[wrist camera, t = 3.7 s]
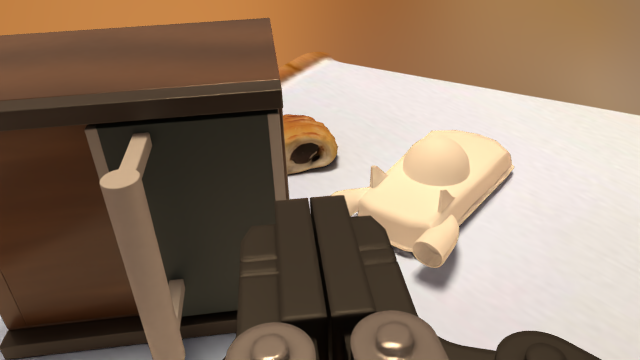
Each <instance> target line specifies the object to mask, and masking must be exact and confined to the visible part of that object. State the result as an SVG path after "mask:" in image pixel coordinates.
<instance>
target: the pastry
mask: <svg viewBox="0 0 640 360" xmlns="http://www.w3.org/2000/svg"><path fill="white" fill-rule="evenodd" d="M283 125H284V138H285V151H286V164H287V174H293V173H299V172H302V171H306V170H308V169H311V168H318V167H323V166H326V165H328V164H330V163H331V162H332V161H333V160H334V158H335V157H336V155H337V148H338V146H337V144H336V142H335V138H334V136H333V135H332V134H331V133H330V131H329V130H328V128H327V127H325V126H324V124H323V123H320V122H316V121H315V120H314V119H313V118H311V117H309V116H305V115H289V114H288V115H284V116H283Z"/></svg>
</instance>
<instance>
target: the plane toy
mask: <svg viewBox="0 0 640 360" xmlns="http://www.w3.org/2000/svg"><path fill="white" fill-rule="evenodd" d="M513 168H514V166H513V165H512V160H511V155H510V153H509V152H508V151H507V150H506V149H505V148H503V147H502V146H501V145H500V144H499V143H498V142H497V141H495V140H493V139H490V138H487V137H484V136H482V135H479V134H474V133H468V132H463V131H457V130H449V131H431V132H430V133H429V134H428V135H427V136H425V137H424V138H423V139H421V140H419V141H418V142H416V143H415V144H413V146H412V147H411V148H410V149H409V150H408V152H407V153H406V154H405V155H404V156H403V157H402V158H401V159H400V160H399V161H398V162H397V163H396V164H395V165H394V166H393V167H392V168H390V169H389V170H388V171H387V172H386V173H384V172H383V171H382V170H381V169H380V168H378V167H377V166H371V177H370V187H367V188H359V189H350V190H343V191H337V192H335V193H333V194H332V195H331V196H334V195H344V196H345V200H346V203H347V207H348V210H349V214H350V217H351V216H352V215H353V214H354V213H356V212H358V216H369V215H370V216H372V217H373V218H374V219H375V220H376V221H377V222H378V223H379V224H381V225H382V226H383V227H384V228H385V229H386V232H387V235H388V237H389V240H390V243H391V245H392V246H394V247H397V248H399V249H402V250H404V251H410V252H413V254H414V256H415V257H416V258H417V259H418V260H419V261H420V262H421V263H422V264H424V265H426V266H428V267H431V268H438V267H440V266H441V265H442V264H443V263H444V261H445V260H446V259H447V257H448V256H449V255H450V253H451V252H452V250H453V248H454V247H455V245H456V243H457V240H458V237H459V226H460V225H461V224H462V223H463V222H464V221H465V219H466V218H467V217H468V216H469V215H470V214H471V213H472V212H473V211H474V210H475V209H476V208H477V207H478V206H479V205H480V204H481V203H482V202H483V201H484V200H485V199H486V198H487V197H488V196H489V195H490V194H491V193H492V192H493V191H494V190H495V189H496V188H497V187H498V186H499V185H500V184H501V183H502V182H503V181H504V180H505V179H506V177H507V176H508V175H509V174H510V172H511V171H512V170H513Z"/></svg>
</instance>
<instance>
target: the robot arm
mask: <svg viewBox="0 0 640 360" xmlns="http://www.w3.org/2000/svg"><path fill="white" fill-rule="evenodd" d="M274 203H275V222H276V224H270V225H259V226H251V227H250V229H249V230H248V232H247V233H246V235H245V236H244V238H243V239H242V241H241V247H240V269H239V276H240V277H239V291H238V313H237V333H236V339H235V340H234V341H233V342H232V344H231V345H230V347H229V349H228V351H227V354H226V357H225V358H224V359H223V360H601V359H599V358H597V357H596V356H594V355H592V354H590V353H588V352H586V351H584V350H582V349H581V348H579V347H577V346H575V345H573V344H571V343H569V342H568V341H566V340H564V339H562V338H559V337H557V336H554V335H551V334H548V333H544V332H538V331H522V332H517V333H514V334H511V335H509V336H507V337H506V338H504V339H503V340H502V341H501V342H500V344H499V345H498V347H497V350H496V351H493V350H486V349H480V348H474V347H467V346H462V345H458V344H454V343H451V342H449V341H446V340H444V339H442V338H440V337H438V336H437V335H436V333H435V331H434V330H433V329H432V327H431V326H430V325H429V324H428V323H426V322H425V321H424V320H422V319H421V318H419V317H418V315H417V313H416V310H415V307H414V305H413V302H412V299H411V297H410V294H409V291H408V289H407V286H406V283H405V280H404V278H403V275H402V272H401V270H400V267H399V264H398V262H397V261H396V256H395V254H394V251H393V248H391V243H390V240H389V237H388V235H387V232H386V229H385V228H384V227H383V226H382V225H381V224H379V223H378V222H377V221H376V220H375V219H374V218H373V217H372V216H370V215H369V216H358V217H350V214H349V210H348V207H347V203H346V200H345V196H344V195H334V196H323V197H311V198H310V208H309V202H308V198H301V199H290V200H278V201H274ZM310 209H311V214H310Z"/></svg>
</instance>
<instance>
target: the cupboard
mask: <svg viewBox="0 0 640 360" xmlns="http://www.w3.org/2000/svg"><path fill="white" fill-rule="evenodd" d="M282 108H283V99H282V88H281V83H280V77H279V71H278V65H277V59H276V53H275V47H274V41H273V35H272V29H271V24H270V19H269V18H261V19H247V20H231V21H215V22H201V23H185V24H170V25H155V26H140V27H125V28H109V29H93V30H78V31H63V32H49V33H34V34H17V35H2V36H0V315H1V317H2V319H3V321H4V323H5V325H6V327H7V328H8V330H9V331H7V333H6V335H5V337H4V339H3V341H2V343H1V345H0V350H1V352H2V354H3V356H4V358H5V360H8V359H16V358H25V357H33V356H42V355H50V354H58V353H67V352H75V351H83V350H92V349H100V348H108V347H117V346H125V345H134V344H142V343H148V341H147V338H146V335H145V332H144V328H143V325H142V322H141V318H140V315H139V312H138V309H137V305H136V302H135V299H134V295H133V292H132V289H131V286H130V282H129V279H128V276H127V272H126V269H125V266H124V263H123V259H122V256H121V253H120V249H119V246H118V243H117V240H116V236H115V233H114V230H113V226H112V223H111V220H110V217H109V213H108V210H107V207H106V203H105V200H104V197H103V194H102V190H101V187H100V184H99V183H100V180H99V176H98V173H97V170H96V167H95V163H94V160H93V157H92V153H91V150H90V147H89V143H88V140H87V137H86V134H85V128H86V126H87V125H88V124H101V123H113V122H125V121H137V120H150V119H162V118H174V117H186V116H199V115H211V114H223V113H235V112H248V111H260V110H269V109H279V116H280V128H281V141H282V153H283V166H284V178H285V190H286V200H289V190H288V177H287V164H286V151H285V138H284V125H283V112H282ZM237 313H238V310H235V311H226V312H217V313H209V314H200V315H191V316H183V317H181V323H180V334H181V338H182V339H184V338H192V337H201V336H209V335H217V334H226V333H234V332H237Z"/></svg>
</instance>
